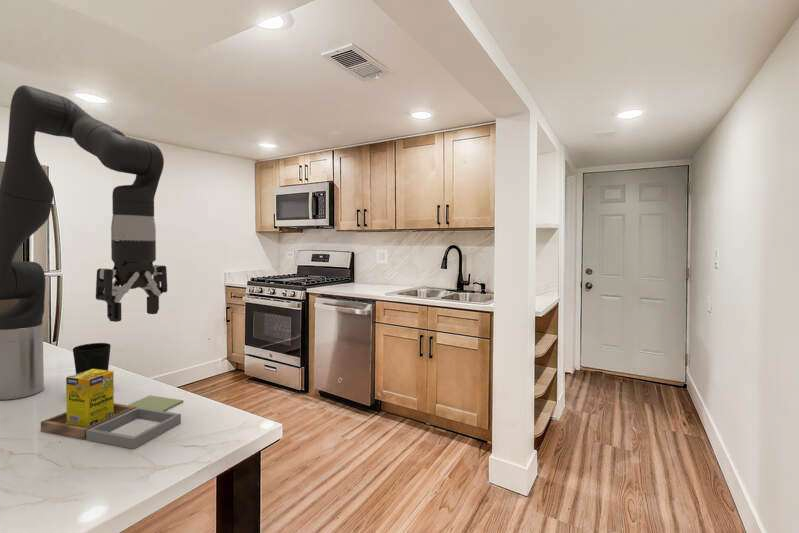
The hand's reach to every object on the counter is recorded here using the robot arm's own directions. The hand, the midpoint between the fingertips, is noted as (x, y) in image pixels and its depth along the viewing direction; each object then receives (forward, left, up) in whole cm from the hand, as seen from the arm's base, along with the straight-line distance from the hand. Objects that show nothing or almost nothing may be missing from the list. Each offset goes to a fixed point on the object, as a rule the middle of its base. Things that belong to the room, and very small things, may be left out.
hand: (134, 317), depth 81 cm
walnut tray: (-12, 0, -24) cm, 27 cm away
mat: (-7, +11, -24) cm, 27 cm away
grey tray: (0, 0, -24) cm, 24 cm away
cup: (-28, +13, -24) cm, 39 cm away
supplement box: (-12, 0, -24) cm, 27 cm away
